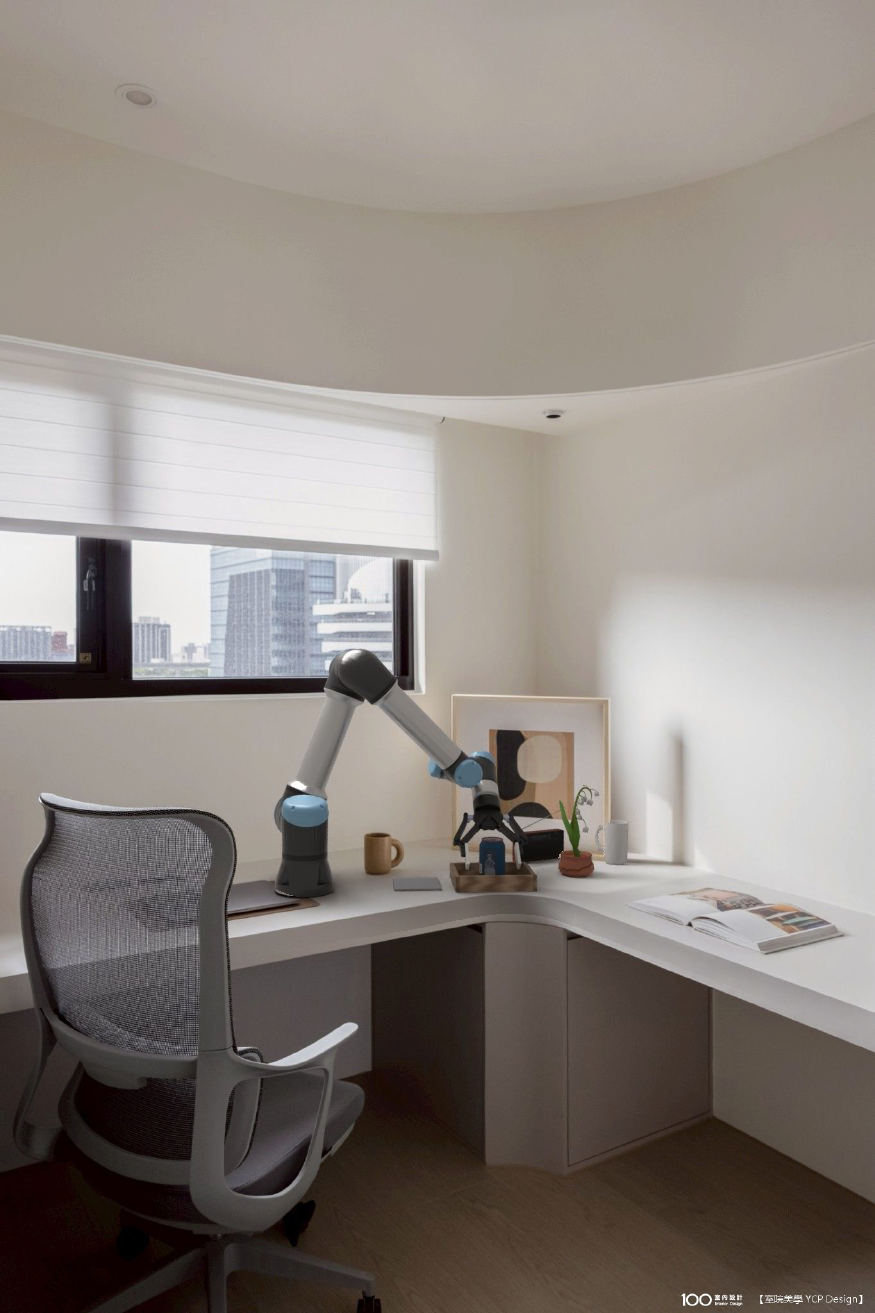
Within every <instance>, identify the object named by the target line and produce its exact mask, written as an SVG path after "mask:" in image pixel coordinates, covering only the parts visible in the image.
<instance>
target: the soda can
mask: <svg viewBox="0 0 875 1313" xmlns="http://www.w3.org/2000/svg"><path fill="white" fill-rule="evenodd" d="M478 848H479V849H478V862H479V875H505V862H506V843H505V842H504V838H503V837H499V836H498V837H497V836H484V837H481V841H480V842H479V845H478Z"/></svg>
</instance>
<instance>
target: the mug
mask: <svg viewBox="0 0 875 1313" xmlns="http://www.w3.org/2000/svg"><path fill="white" fill-rule="evenodd" d="M609 820H610V823H607V822H606V821H607V820H605V821H604V823H605V824H603V825H601V824H602V823H598V824H597V827H596V828H595V833H594V843H595V845H596V847H597V851H598V852H603V853H604V854H605V863H606V864H608V865H613V866H614V865H615V866H620V865H621V866H623V865H627V864H628V855H629V854H628V851H629V847H628V846H629V821H626V820H622V819H609ZM603 826H605V828H604V832H605V833H604V835H605V836H604V837H605V842H604V843H605V845H604V846H603V847H605V849H604V848H603V847H602V844H601V842H600V840H598V839H599V835H598V833H599V834H600V832H601V831H602V830H603ZM599 831H600V832H599ZM599 842H600V843H599ZM600 844H601V845H600ZM603 849H604V850H605V852H604V850H603ZM626 863H627V864H626Z"/></svg>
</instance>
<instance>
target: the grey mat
mask: <svg viewBox="0 0 875 1313" xmlns="http://www.w3.org/2000/svg"><path fill="white" fill-rule="evenodd" d="M392 882H393V889H394V892H404V891H403V890H439V891H442V886H441V883H440V880H439V878H438V877H437V876H434V877H433V876H430V877H429V876H427V877H425V876H424V877H418V876H415V877H412V876H411V877H392Z"/></svg>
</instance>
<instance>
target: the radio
mask: <svg viewBox="0 0 875 1313" xmlns="http://www.w3.org/2000/svg"><path fill="white" fill-rule="evenodd" d="M558 812H561V810H560V809H559V810H557V811H555V812H553V813H552V814H549V815H547V816H545V817H543V818H541V819H538V820H537V821H534V822H533V823H531V824H528V825H527V826H524V827H522V828H521V829H522V830H524V829H526V828H529V827H531V826H532V825H534V824H537V823H538V822H540V821H542V820H545V819H546V818H548V817H550V816H552V815H555V814H557V813H558ZM524 833H525V834H526V836H527V837H528V843H527V845H523V856H522V857H520V859H521V862H526V863H533V862H540V861H541V862H543V861H550V860H559V859H558V857H559V854H560V853H561V852H562V851H565V829H562V828H561V829H560V828H548V829H539V830H529V831H528V830H527V831H524ZM511 846H512V850H511V851H512V853H511V855H512V857H511V858H512V861H511V862H516V858H515V850H514V847H515V844H514V843H512V845H511Z"/></svg>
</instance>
